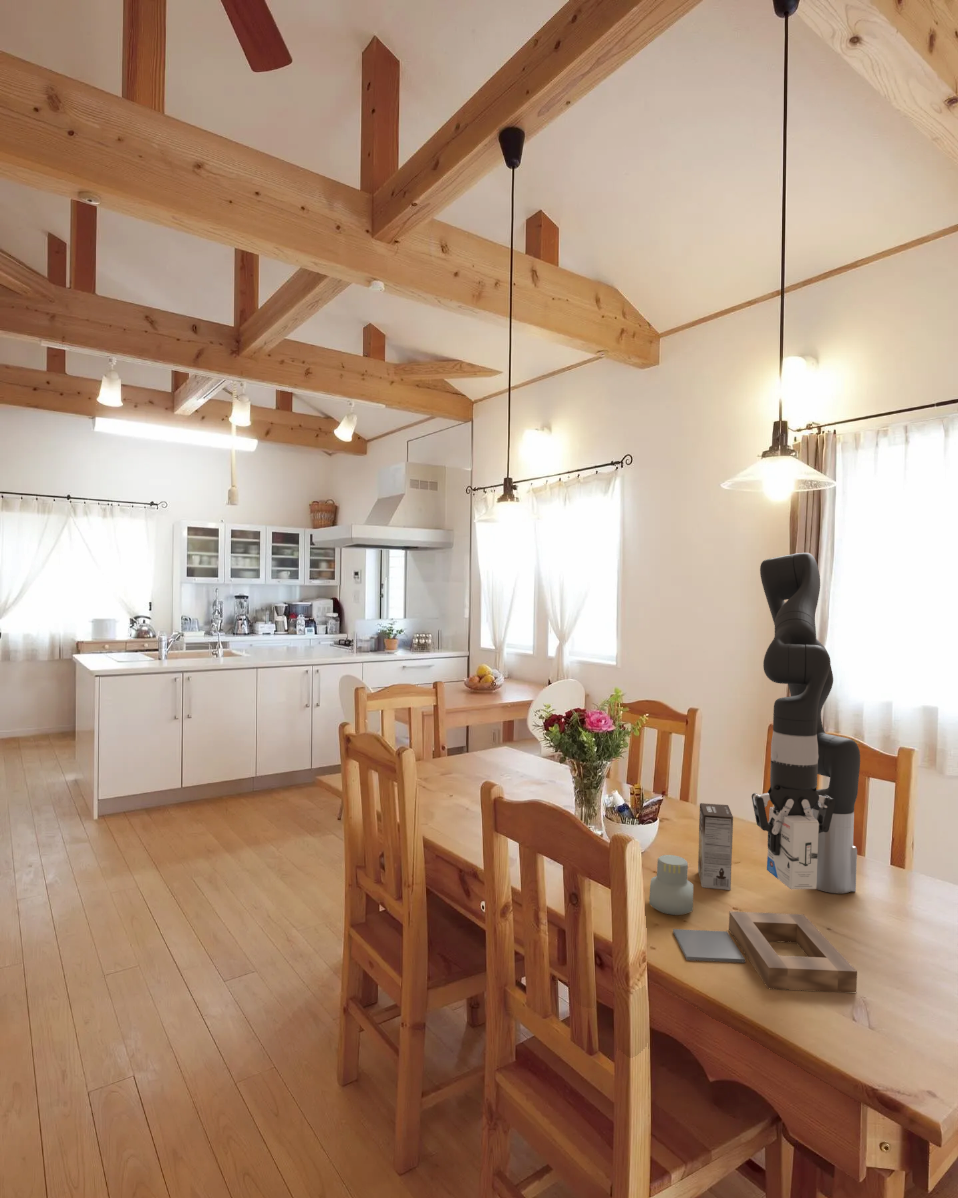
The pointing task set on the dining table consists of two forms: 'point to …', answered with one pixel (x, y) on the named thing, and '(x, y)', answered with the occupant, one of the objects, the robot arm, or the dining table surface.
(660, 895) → the air freshener
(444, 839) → the dining table surface
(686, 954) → the coaster
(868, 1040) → the dining table surface
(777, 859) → the ink box
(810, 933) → the pocket
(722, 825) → the coffee box
